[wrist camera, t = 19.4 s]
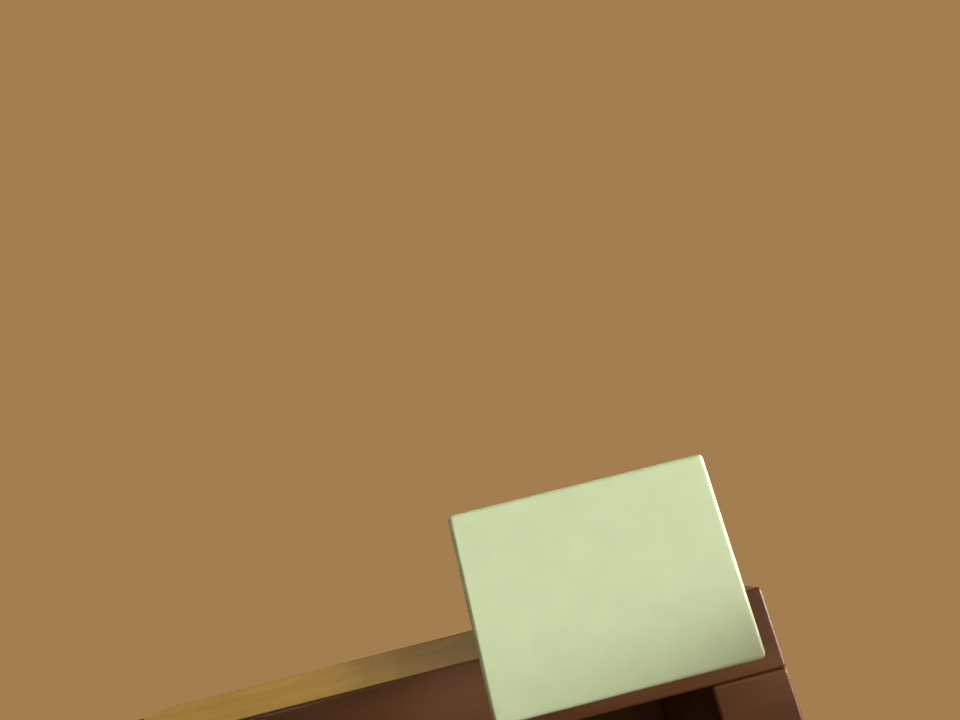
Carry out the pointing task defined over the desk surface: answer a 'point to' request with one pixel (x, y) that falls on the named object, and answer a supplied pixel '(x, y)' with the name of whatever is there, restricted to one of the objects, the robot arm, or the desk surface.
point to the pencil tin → (602, 589)
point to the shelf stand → (463, 697)
